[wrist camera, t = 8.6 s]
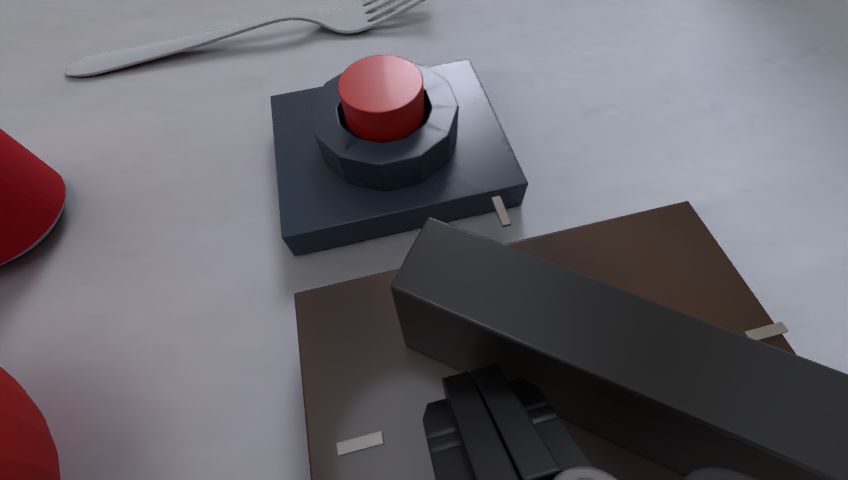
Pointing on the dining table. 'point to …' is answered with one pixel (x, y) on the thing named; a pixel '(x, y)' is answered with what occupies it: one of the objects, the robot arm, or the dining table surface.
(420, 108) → the red button
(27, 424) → the ceramic cup
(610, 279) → the control panel
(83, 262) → the dining table surface
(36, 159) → the beverage can
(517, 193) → the button box
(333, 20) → the fork
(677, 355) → the bar knob
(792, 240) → the dining table surface
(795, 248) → the dining table surface
